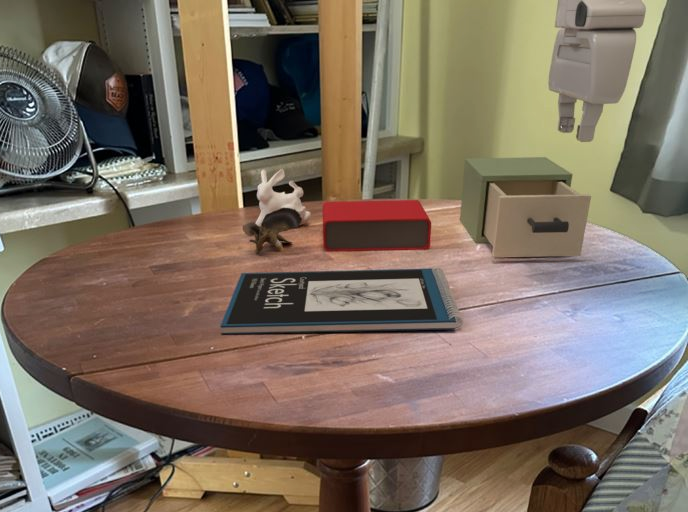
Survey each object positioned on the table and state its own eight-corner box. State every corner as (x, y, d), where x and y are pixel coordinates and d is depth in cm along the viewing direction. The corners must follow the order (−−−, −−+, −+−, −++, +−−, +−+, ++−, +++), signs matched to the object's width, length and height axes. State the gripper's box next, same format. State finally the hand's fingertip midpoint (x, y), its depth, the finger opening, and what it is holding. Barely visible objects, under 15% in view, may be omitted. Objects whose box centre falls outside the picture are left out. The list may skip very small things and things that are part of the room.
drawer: (590, 265, 105) (602, 203, 100) (500, 267, 105) (507, 205, 100) (553, 230, 122) (562, 176, 118) (475, 232, 123) (481, 177, 118)
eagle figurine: (284, 252, 113) (312, 229, 119) (257, 213, 111) (287, 191, 116) (256, 270, 119) (284, 247, 124) (230, 233, 116) (260, 212, 122)
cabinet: (561, 241, 120) (572, 173, 114) (475, 243, 120) (482, 175, 114) (537, 218, 134) (545, 157, 128) (459, 219, 134) (464, 158, 128)
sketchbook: (241, 282, 105) (240, 268, 104) (442, 279, 104) (443, 265, 103) (221, 335, 87) (219, 319, 86) (463, 332, 86) (464, 315, 85)
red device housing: (419, 228, 129) (420, 199, 127) (429, 249, 117) (431, 218, 115) (322, 230, 129) (322, 201, 126) (323, 251, 117) (323, 220, 115)
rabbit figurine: (247, 231, 130) (243, 174, 124) (247, 221, 136) (243, 167, 131) (312, 228, 131) (310, 172, 125) (309, 218, 137) (307, 165, 131)
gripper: (545, 11, 93) (531, 126, 101) (594, 10, 76) (572, 148, 84) (593, 10, 93) (574, 126, 101) (652, 8, 76) (625, 147, 84)
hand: (574, 136), depth 92 cm, fingers open, 7 cm apart
